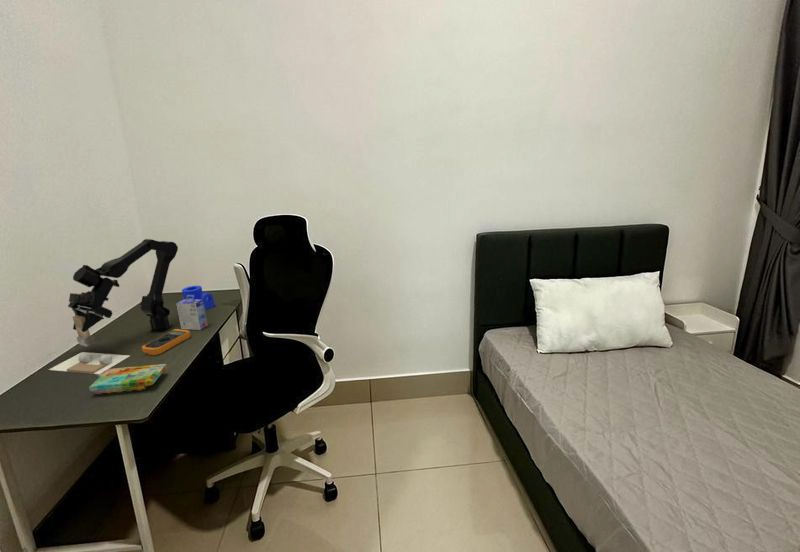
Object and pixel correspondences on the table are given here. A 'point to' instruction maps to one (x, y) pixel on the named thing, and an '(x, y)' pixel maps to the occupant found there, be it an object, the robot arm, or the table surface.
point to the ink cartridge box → (192, 313)
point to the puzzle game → (127, 379)
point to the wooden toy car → (83, 337)
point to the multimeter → (165, 342)
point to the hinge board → (90, 363)
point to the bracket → (199, 295)
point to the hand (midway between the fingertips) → (78, 330)
